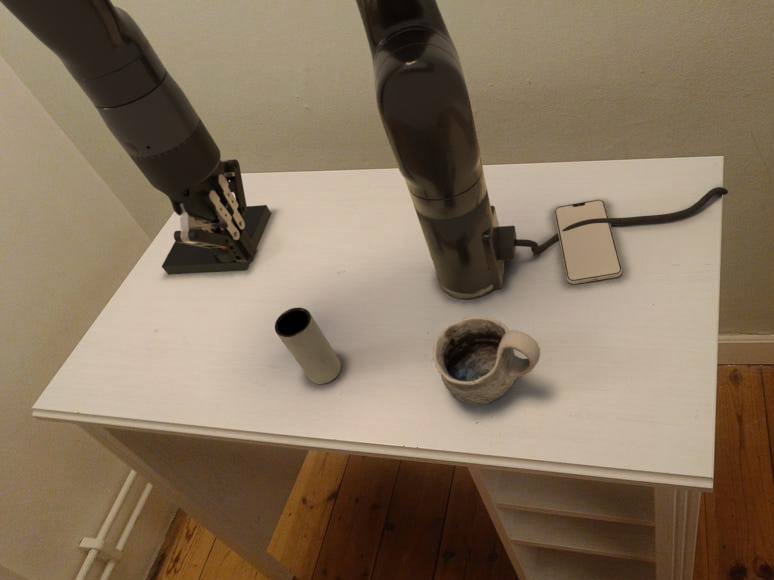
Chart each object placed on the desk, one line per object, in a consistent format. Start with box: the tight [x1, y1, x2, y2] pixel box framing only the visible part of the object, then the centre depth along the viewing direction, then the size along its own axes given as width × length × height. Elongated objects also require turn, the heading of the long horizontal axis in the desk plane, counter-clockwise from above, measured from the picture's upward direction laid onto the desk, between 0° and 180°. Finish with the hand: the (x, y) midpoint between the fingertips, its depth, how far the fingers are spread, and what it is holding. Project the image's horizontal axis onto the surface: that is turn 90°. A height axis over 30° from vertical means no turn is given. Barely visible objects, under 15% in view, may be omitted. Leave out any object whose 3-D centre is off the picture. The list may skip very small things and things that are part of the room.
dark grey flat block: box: [161, 204, 272, 275], centre depth 99 cm, size 14×13×4 cm
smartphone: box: [553, 199, 623, 285], centre depth 85 cm, size 7×1×15 cm
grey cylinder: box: [274, 307, 342, 385], centre depth 77 cm, size 4×4×10 cm
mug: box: [432, 315, 541, 406], centre depth 71 cm, size 10×12×10 cm
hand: (248, 257), depth 72 cm, fingers closed
